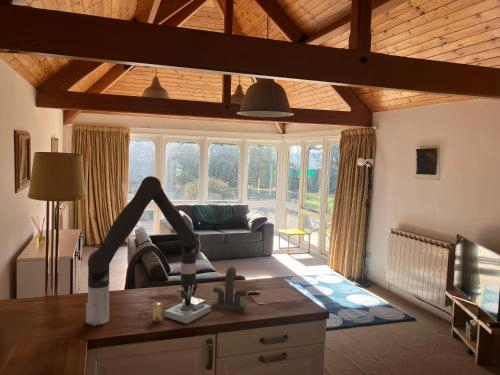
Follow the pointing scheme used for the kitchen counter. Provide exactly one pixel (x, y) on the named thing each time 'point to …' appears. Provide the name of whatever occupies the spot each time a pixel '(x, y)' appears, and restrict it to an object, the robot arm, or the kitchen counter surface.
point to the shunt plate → (195, 303)
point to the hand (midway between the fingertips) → (187, 305)
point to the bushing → (157, 311)
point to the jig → (186, 313)
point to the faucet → (229, 293)
